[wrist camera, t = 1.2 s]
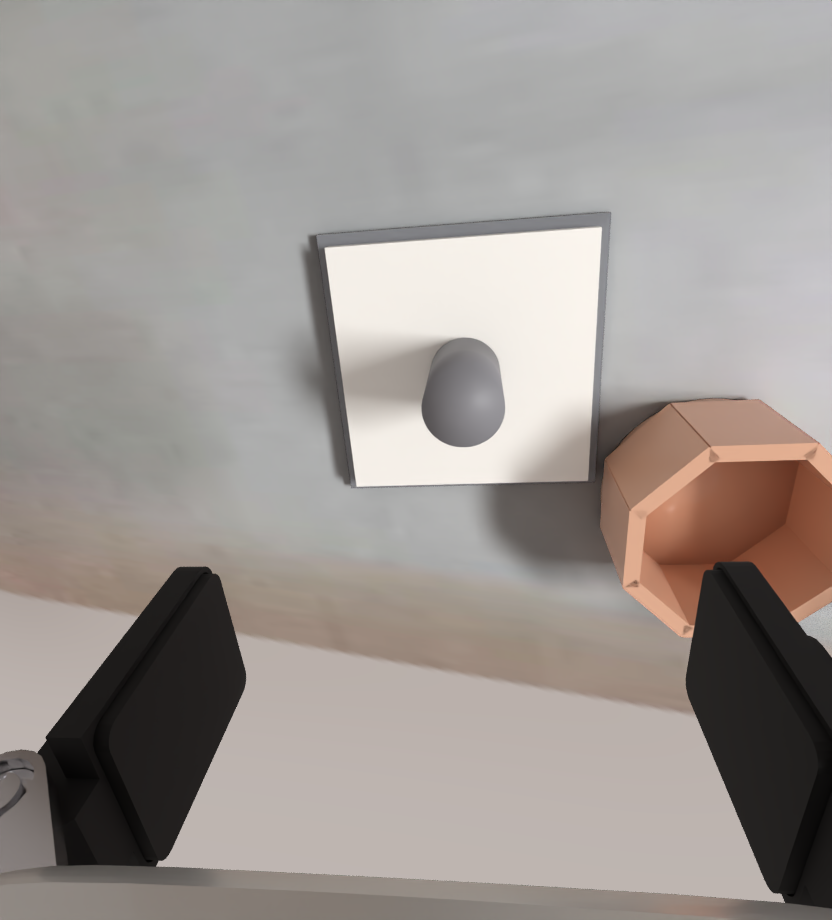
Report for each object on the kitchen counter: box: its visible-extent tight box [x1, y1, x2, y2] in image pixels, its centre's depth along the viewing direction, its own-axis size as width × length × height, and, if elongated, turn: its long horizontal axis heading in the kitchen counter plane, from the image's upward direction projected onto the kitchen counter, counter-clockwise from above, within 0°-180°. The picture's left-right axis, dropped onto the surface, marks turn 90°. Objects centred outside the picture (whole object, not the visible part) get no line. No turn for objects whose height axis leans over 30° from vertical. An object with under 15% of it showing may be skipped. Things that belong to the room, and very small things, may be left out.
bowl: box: [600, 398, 832, 637], centre depth 27 cm, size 10×10×6 cm
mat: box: [316, 212, 611, 488], centre depth 27 cm, size 13×13×1 cm
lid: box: [325, 226, 602, 487], centre depth 25 cm, size 12×12×6 cm
